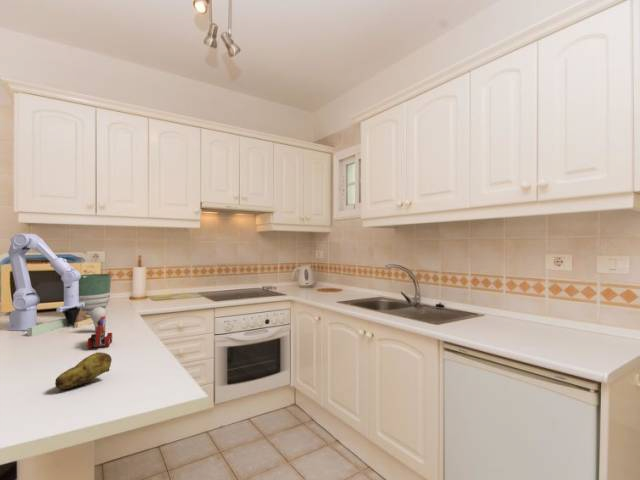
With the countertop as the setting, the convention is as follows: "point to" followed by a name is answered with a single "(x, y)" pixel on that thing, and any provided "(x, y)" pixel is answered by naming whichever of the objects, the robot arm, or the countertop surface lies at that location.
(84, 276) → the planter
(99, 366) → the potato
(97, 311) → the lightbulb
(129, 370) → the countertop surface
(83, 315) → the cabinet block
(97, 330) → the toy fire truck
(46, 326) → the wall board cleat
